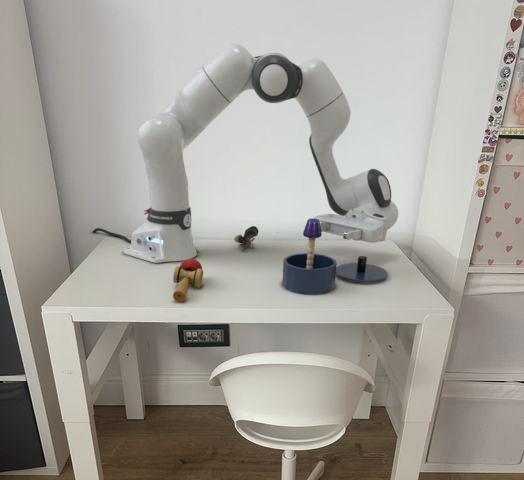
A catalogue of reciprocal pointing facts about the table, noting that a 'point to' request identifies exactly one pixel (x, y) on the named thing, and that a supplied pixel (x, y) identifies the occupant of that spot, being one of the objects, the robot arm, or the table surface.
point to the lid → (361, 271)
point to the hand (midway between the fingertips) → (330, 232)
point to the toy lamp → (311, 238)
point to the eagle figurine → (247, 237)
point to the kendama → (187, 277)
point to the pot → (309, 274)
